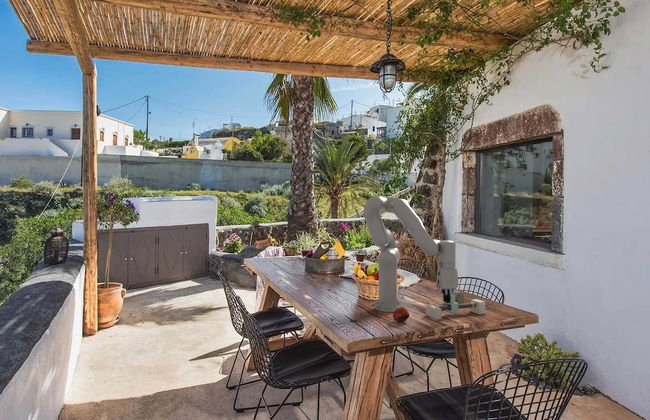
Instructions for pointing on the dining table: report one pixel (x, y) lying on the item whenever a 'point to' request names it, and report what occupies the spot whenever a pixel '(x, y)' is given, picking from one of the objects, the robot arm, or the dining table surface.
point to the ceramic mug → (458, 296)
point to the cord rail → (475, 306)
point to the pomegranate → (400, 314)
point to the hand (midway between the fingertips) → (446, 302)
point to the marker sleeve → (453, 305)
